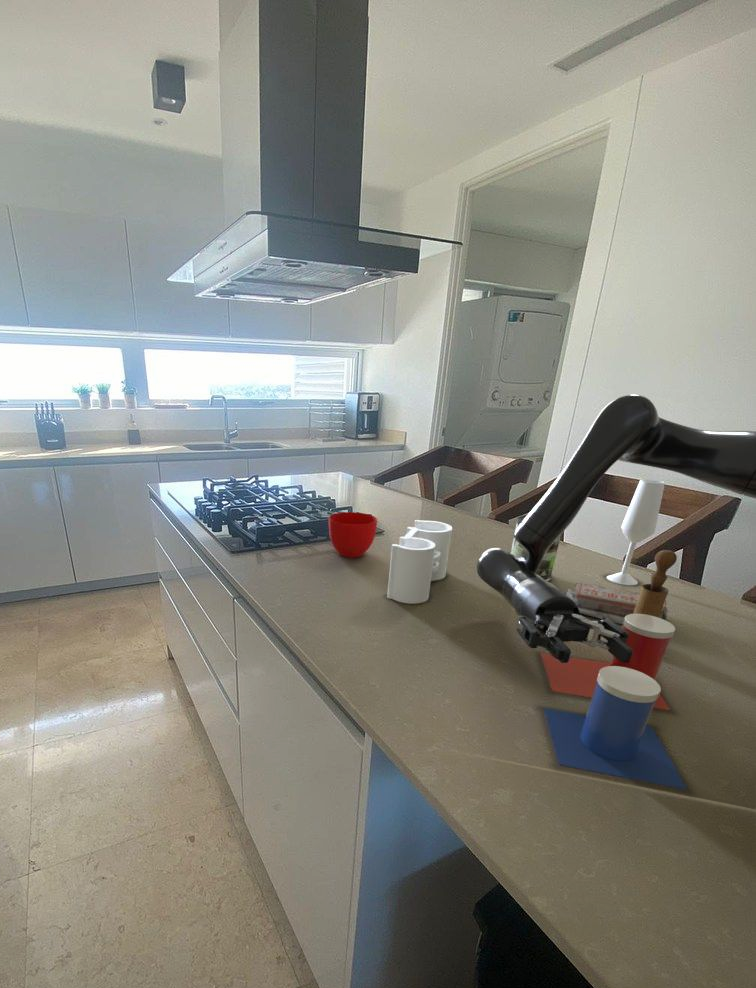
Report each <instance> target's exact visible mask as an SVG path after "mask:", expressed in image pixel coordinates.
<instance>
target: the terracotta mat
mask: <svg viewBox="0 0 756 988" xmlns="http://www.w3.org/2000/svg"><path fill="white" fill-rule="evenodd" d="M540 656H541V660H542V663H543V667H544V669H545V672H546V676H547V679H548V682H549V685H550V689H551V691H552V693H553V692H554V693H559V694H566V695H572V696H578V697H583V698H584V697H585V698H590V699H591V698H592V695H593V692H594V689H595V686H596V683H597V676H598V673H599V671H600V669H602V668H604V667H607V666H610V664H611V662H605V661H597V660H591V659H584V658H576V657H571V656H570V657H569V661H568V663H561V662H560V661H559V660H558V659H556V658H554V657H553V655H552V654H550V653H540ZM653 709H659V710H666V711H671V708H670V707H669V705H668V703H667V702H666V701H665V699H664V698H663V696H662V695H661V693H660V694H659V697H658V699H657V700H656V701H655V704H654V707H653Z"/></svg>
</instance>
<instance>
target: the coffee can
mask: <svg viewBox="0 0 756 988" xmlns="http://www.w3.org/2000/svg"><path fill="white" fill-rule="evenodd" d="M527 515H528V514H524V515H519V516H517V517H516V525H515V529H516V528H517V527H518V526H519V524H520V523H521V522H522V521H523V520H524V518H525V517H526V516H527ZM561 537H562V534H561V535H560V536H559V537H558V539H557V540H556V541H555V542H554V543H552V545H551V546H550V548H549V549H548V550H547V552H546V554H545V556H544V558H543V559H542V561H541V563H540V565H539V567H538V569H537V571H536V574H538V575H539V576H540V577H541V578H543V579H544V580H545V581H547V582H549V581H551V579H552V573H553V570H554V565H555V563H556V557H557V553H558V550H559V544H560V541H561ZM521 552H522V546H521V545H520V544H519V543H518V542H517V541H516V540H515V538H514V537H513V539H512V545H511V551H510V554H512V555H514V556H515V557H517V558H518V559H519V557H520V555H521Z"/></svg>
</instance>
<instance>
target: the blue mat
mask: <svg viewBox="0 0 756 988" xmlns="http://www.w3.org/2000/svg"><path fill="white" fill-rule="evenodd" d="M543 712H544V715H545V720H546V723H547V726H548V730H549V734H550V738H551V741H552V745H553V749H554V752H555V756H556V761H557V763H558V766H562V767H567V768H573V769H578V770H584V771H589V772H594V773H598V774H604V775H609V776H615V777H618V778H619V777H620V778H625V779H631V780H635V781H639V782H640V781H641V782H645V783H651V784H655V785H661V786H666V787H671V788H677V789H682V790H689V788H688V787H687V786H686V783H685V782H684V780H683V778H682V776H681V775H680V773H679V771H678V770H677V768H676V766H675V764H674V762H673V761H672V759H671V757H670V755H669V754H668V751H666V748H665V747H664V745H663V743H662V742H661V739H660V738H659V736H658V735H657V733H656V731H655V729H654V727H653V726H652V725H648V724H647V725H646V727H645V730H644V733H643V735H642V738H641V741H640V743H639V746H638V748H637V751H636V754H635V756H634V757H633V758H632V759H630V760H626V761H617V760H611V759H608V758H605V757H602V756H600V755H598V754H596V753H594V752H592V751H591V750H590V749H588V748H587V747H586V746H585V745H584V744H583V742H582V741H581V738H580V733H581V730H582V727H583V724H584V721H585V717H586V714H581V713H575V712H571V711H563V710H559V709H558V710H557V709H552V708H545V707H543Z"/></svg>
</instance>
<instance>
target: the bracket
mask: <svg viewBox="0 0 756 988" xmlns="http://www.w3.org/2000/svg"><path fill="white" fill-rule="evenodd" d="M452 535H453V527H452V525H450V524H448V523H445V522H443V521H442V522H441V521H437V520H421V519H415V520H414V526H407V529H406V534H405V535H404V536H399V543H397V544H396V543H391V551H390V563H389V571H388V573H389V574H388V583H387V595H386V598H387V599H389V600H390V599H391V600H394V601H396V602H399V603H404V604H411V605H413V604H415V605H416V604H421V603H425V602H427V601H428V600H429V598H430V591H431V583H432V582H435V581H440V580H442V579H445V577H446V575H447V568H448V561H449V554H450V547H451V541H452V540H451V539H452Z"/></svg>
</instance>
